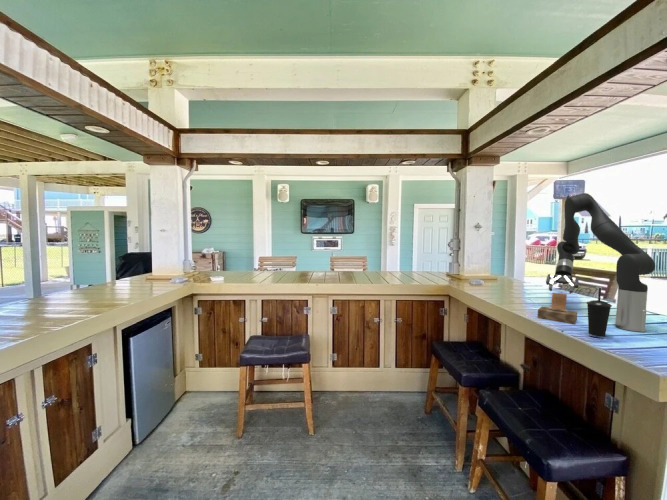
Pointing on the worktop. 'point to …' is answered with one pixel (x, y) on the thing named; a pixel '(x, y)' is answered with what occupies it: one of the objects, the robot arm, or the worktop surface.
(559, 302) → the cover plate
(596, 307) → the drinking cup
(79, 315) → the worktop surface
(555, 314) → the box
